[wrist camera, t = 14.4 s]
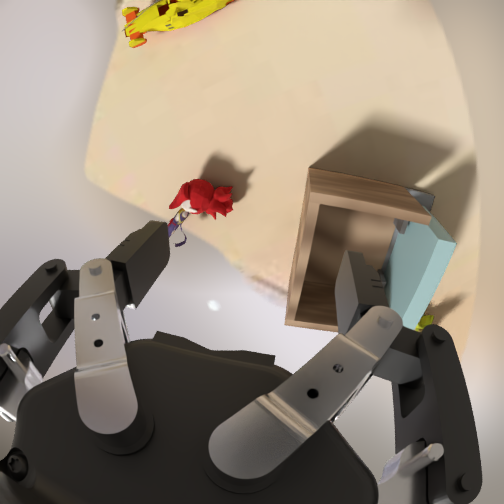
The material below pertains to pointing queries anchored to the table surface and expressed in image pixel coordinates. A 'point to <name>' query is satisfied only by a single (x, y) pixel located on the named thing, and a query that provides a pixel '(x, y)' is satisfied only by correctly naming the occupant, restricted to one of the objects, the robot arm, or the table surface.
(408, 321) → the door
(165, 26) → the toy boat
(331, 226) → the cabinet
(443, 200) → the table surface
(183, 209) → the figurine
